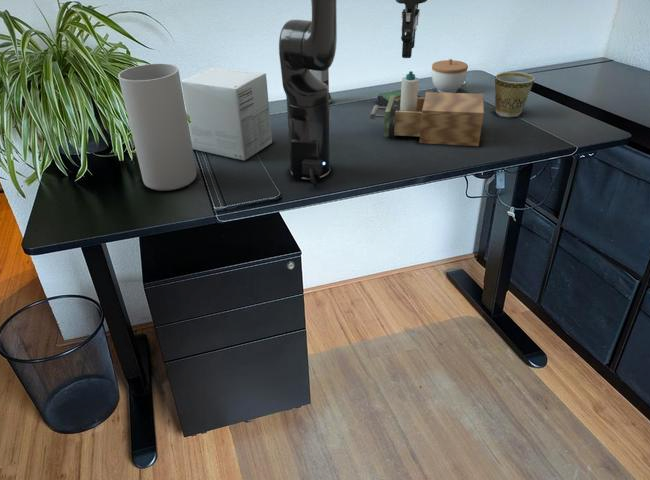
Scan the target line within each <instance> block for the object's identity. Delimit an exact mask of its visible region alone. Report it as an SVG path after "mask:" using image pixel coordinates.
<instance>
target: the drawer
mask: <svg viewBox="0 0 650 480" xmlns="http://www.w3.org/2000/svg"><path fill="white" fill-rule="evenodd" d="M424 100H425V97H422V98H419V97H417V108H416V112H415V111H400V103H401V97H400V102H399V111H395V95H391V97H390V99H389V102H388V105H387V107H384V106H379V105H378V104H374V105H373V108H372V110H371V112H370V115H369V118H370V119H371V120H374V119H375V118H381V119H384V124H383V125H384V126H383V127H384V128H383V137H384V138H389V137H390V133H391V131H392V127H394V128H393V136H397V137H399V136H400V137H401V136H402V137H419V138H420V130H421V119H422V109H423V104H424ZM379 110H381V111H382V110H384V114H378V111H379ZM394 113H395V114H394ZM393 124H394V125H393Z"/></svg>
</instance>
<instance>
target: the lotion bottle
mask: <svg viewBox="0 0 650 480" xmlns="http://www.w3.org/2000/svg"><path fill="white" fill-rule="evenodd" d="M419 81H420V78H419V77H417V76H416V74H414V72H413V71H412V70H410V71H408V73H407V74H406V75H405V76H404V77H402V78H401V86H400V87H401V89H400V90H401V103H400V111H415V112H416V108H417V96H419V83H420V82H419Z"/></svg>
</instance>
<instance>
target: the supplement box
mask: <svg viewBox="0 0 650 480" xmlns="http://www.w3.org/2000/svg"><path fill="white" fill-rule="evenodd" d="M180 81H181V86H182V92H183V98H184V104H185V110H186V115H187V114H188V115H189V116H190V121H191V123H190V124H189V123H188V127H189V133H190V138H191V144H192V150H193V151H194V150H195V151H200V152H204V153H208V154H212V155H213V154H214V155H218V156H222V157H226V158H231V159H235V160H241V161H247V160H248V159H250V158H251V157H252V156H254V155H256V154H257V153H258V152H260V151H262V150H264V149H265V148H266V147H268V146H269V145H271V144H272V143H273V139H272V124H271V114H270V101H269V91H268V80H267V73H265V72H253V71H246V70H237V69H228V68H220V67H211V68H209V69H206V70H203V71H201V72H199V73H196V74H194V75H192V76H189V77H187V78H185V79H182V80H180Z"/></svg>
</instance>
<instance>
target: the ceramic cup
mask: <svg viewBox="0 0 650 480" xmlns="http://www.w3.org/2000/svg"><path fill="white" fill-rule="evenodd" d="M534 81H535V77H534V75H532V74H530V73H526V72H520V71H505V72H504V71H503V72H499V73H497V74H496V75H495V77H494V94H495V95H494V97H495V98H494V99H495V100H494V102H495V104H494V107H495V110H494V111H495V114H497V115H498V116H499V117H505V118H514V117H515V118H516V117H519V116H520V115H521V114H522V112H523V110H524V107H525V104H526V101H527V99H528V96H529V94H530V92H531V90H532V87H533V84H534Z"/></svg>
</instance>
